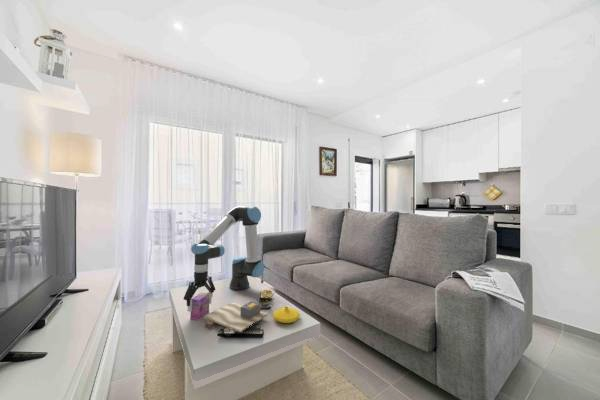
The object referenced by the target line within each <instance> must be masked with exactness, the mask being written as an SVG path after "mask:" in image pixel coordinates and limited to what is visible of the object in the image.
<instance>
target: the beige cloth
mask: <svg viewBox="0 0 600 400" xmlns="http://www.w3.org/2000/svg"><path fill="white" fill-rule="evenodd" d="M242 306H243V305H242V304H239V303H236V302H230V303H228V304H226V305H224V306H221V307H219V308H218V309H215V310H214V311H211V312H210V313H207V314H206V315H205V316H204V317H203V319H205V320H207V321H205V322H204V328H205V329H209V330H211V329H214V328H215V327H217V326H219V325H221V326H224V327H225V328H224V329H223V330H226V329H230V328H232V329H235V330H237V331H238V332H239V333H242V332H243V330H244V331H245V330H246V328H247V329H249V326H250V325H251V326H253V325H254V324H253V323H254V322H256V321H258V322H259V321H260V320H262V319H264V318H266V317H267V316H268V315H269V313H268V312H265V311H261V310H260V313H259V314H257V315H256V316H254V317H252V318H251V319H249V318H246V317H242V316H240V312H241V307H242ZM256 323H257V322H256ZM252 324H253V325H252ZM251 326H250V327H251Z"/></svg>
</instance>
